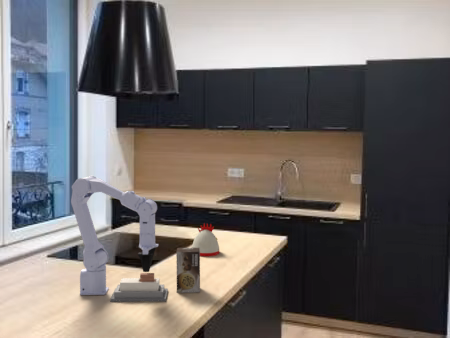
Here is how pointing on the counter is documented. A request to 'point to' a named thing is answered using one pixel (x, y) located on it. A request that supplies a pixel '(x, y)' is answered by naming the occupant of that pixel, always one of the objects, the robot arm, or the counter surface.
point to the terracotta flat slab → (147, 277)
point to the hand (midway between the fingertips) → (147, 268)
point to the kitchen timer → (206, 242)
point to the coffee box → (188, 270)
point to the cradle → (139, 295)
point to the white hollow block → (138, 285)
